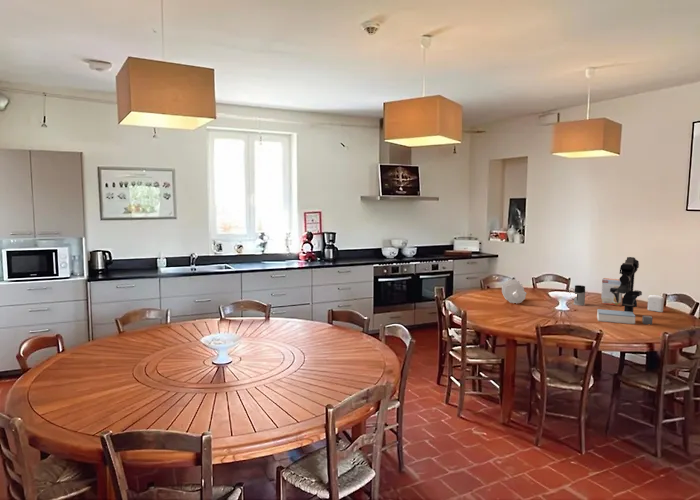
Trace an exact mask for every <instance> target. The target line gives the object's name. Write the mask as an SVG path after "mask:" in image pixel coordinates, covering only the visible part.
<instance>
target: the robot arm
mask: <svg viewBox="0 0 700 500" xmlns="http://www.w3.org/2000/svg"><path fill="white" fill-rule="evenodd" d="M639 268H640V262H639V260H637V259H636V257H633V256H627V257H626V259H625V262H622V264H620V267H619V274H620V275H621V276H620V277H619V280H620V282H621V284H620V286H619V287H618V288H615V287H613V288H610V292H612V293H613V294H614V295H615V297H616V300H617V303H618V302H619V293H622V295H623V294H624V295H623V296H622V305H621V306H622V307H623V308H624V309H623V311H627V312H633V313H634V308H637V307H638V300H637V298H638V297H641V296H642V295H643V292H642V291H641V290H636V289H635V290H634V285H635V274H636V273H637V271H638V269H639Z"/></svg>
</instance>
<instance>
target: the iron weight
mask: <svg viewBox="0 0 700 500" xmlns="http://www.w3.org/2000/svg"><path fill="white" fill-rule="evenodd" d="M653 319H654V318H653V317H652V315H642V318H641V320H642V321H641V323H642V324H643V325H648V324H650V325H651V326H652V325H653Z"/></svg>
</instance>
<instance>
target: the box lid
mask: <svg viewBox="0 0 700 500" xmlns="http://www.w3.org/2000/svg"><path fill="white" fill-rule="evenodd" d="M596 311H598V313H599V314H603V315H615V316H626V317H635V318H636V315H635V314H634V311H633V312H627V311H624V310H613V309H600V308H597V310H596Z"/></svg>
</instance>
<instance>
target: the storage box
mask: <svg viewBox="0 0 700 500" xmlns="http://www.w3.org/2000/svg"><path fill="white" fill-rule="evenodd" d="M596 311H597V310H596ZM596 319H597V322H603V323H605V322H606V323H614V324H615V323H616V324H617V323H618V324H626V325H636V316H635V317H626V316H615V315H603V314H599V313H598V311H597V313H596Z"/></svg>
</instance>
